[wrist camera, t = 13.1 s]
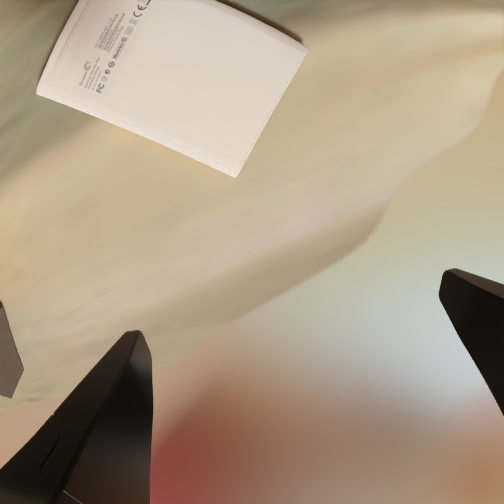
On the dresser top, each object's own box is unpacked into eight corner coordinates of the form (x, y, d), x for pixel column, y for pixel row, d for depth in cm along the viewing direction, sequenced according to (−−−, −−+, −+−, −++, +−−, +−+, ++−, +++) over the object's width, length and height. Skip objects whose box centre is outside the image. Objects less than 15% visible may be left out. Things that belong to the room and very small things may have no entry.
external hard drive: (233, 172, 18) (45, 94, 14) (302, 51, 15) (109, -29, 11) (236, 179, 17) (32, 94, 13) (311, 47, 14) (102, -38, 10)
